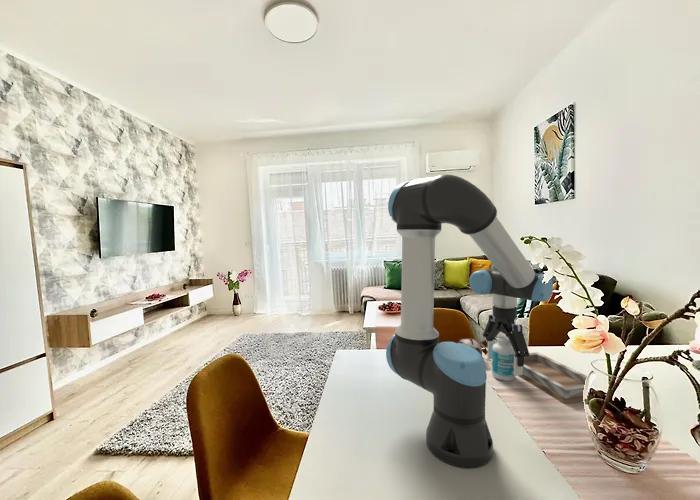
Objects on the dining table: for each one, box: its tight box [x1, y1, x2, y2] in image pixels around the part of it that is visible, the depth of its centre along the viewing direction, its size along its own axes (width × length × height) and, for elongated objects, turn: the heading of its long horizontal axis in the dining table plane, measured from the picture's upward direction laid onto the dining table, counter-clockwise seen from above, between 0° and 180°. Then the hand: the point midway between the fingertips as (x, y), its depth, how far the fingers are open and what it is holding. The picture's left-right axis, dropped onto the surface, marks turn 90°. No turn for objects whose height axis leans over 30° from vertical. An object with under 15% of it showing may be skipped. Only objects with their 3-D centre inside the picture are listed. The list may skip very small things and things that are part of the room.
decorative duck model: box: [457, 337, 488, 356], centre depth 127 cm, size 15×8×15 cm
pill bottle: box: [491, 336, 516, 382], centre depth 112 cm, size 8×7×14 cm
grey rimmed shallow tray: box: [517, 351, 588, 404], centre depth 109 cm, size 26×15×4 cm, turn 12°
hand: (503, 366), depth 112 cm, fingers open, 13 cm apart
